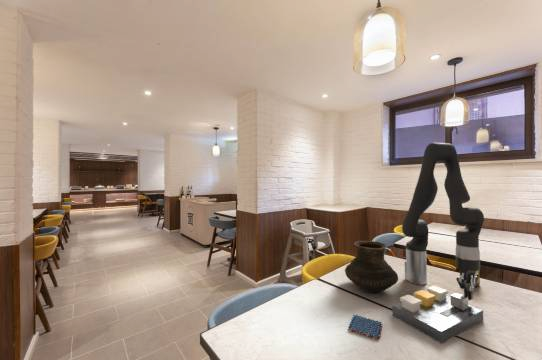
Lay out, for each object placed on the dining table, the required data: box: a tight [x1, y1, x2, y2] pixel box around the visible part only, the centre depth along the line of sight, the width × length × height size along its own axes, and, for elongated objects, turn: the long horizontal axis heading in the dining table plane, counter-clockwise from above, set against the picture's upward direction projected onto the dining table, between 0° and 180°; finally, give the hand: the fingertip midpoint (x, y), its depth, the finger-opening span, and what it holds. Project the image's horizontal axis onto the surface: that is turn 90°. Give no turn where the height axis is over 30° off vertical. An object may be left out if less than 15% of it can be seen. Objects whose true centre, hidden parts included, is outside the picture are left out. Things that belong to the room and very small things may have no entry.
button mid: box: [413, 289, 436, 307], centre depth 94 cm, size 5×5×6 cm
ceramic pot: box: [344, 240, 399, 294], centre depth 114 cm, size 24×24×22 cm
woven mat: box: [347, 314, 383, 341], centre depth 84 cm, size 10×11×2 cm
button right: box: [426, 285, 449, 302], centre depth 98 cm, size 5×5×6 cm
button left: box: [399, 294, 422, 313], centre depth 90 cm, size 5×5×6 cm
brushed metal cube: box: [450, 292, 469, 310], centre depth 90 cm, size 4×4×4 cm
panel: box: [391, 291, 484, 344], centre depth 90 cm, size 18×28×4 cm, turn 116°
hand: (468, 298), depth 92 cm, fingers closed
